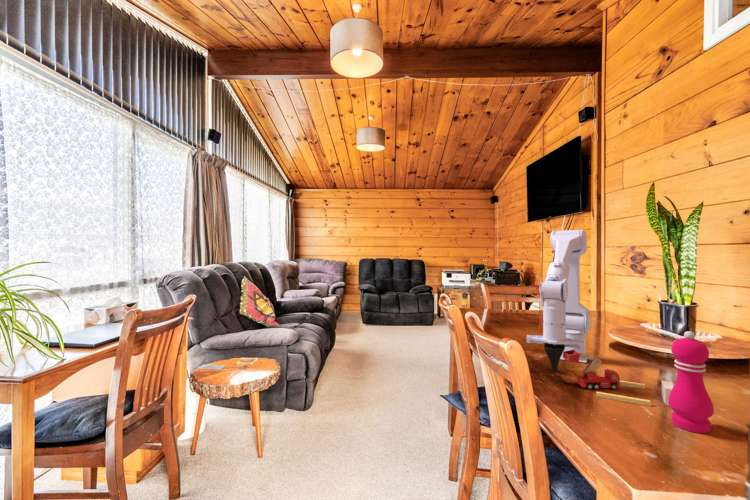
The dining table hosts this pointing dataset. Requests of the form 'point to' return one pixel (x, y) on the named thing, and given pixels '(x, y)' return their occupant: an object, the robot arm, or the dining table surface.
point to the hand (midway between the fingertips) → (554, 370)
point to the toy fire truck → (588, 376)
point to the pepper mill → (690, 386)
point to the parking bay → (666, 391)
